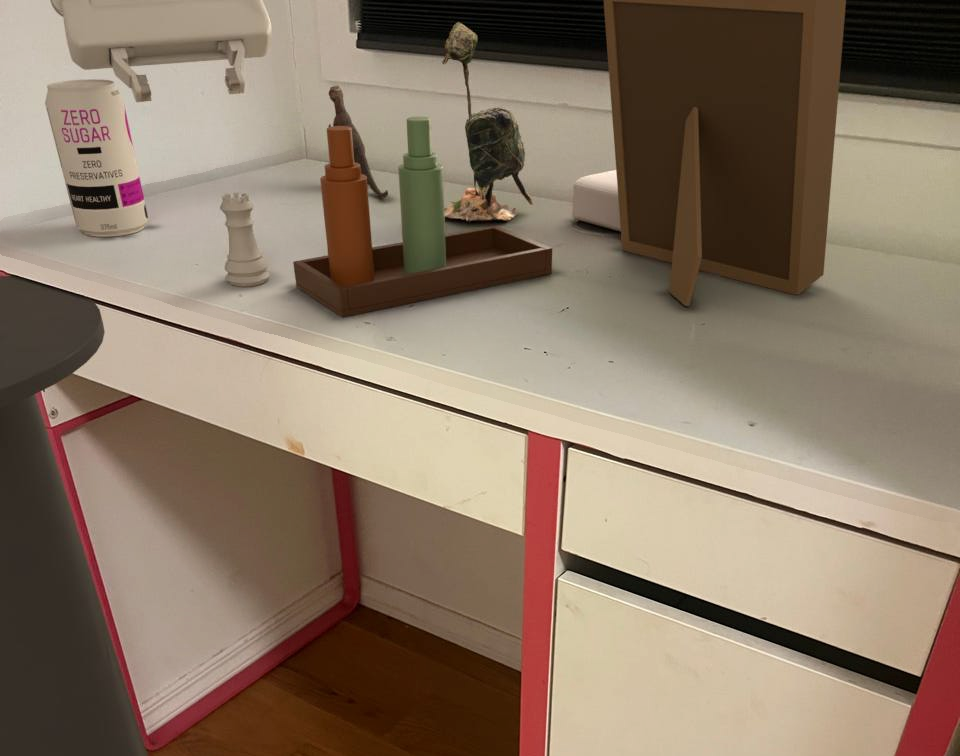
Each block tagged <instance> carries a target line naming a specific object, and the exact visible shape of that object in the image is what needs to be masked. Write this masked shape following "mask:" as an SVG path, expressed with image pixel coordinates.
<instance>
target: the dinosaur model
mask: <svg viewBox="0 0 960 756" xmlns="http://www.w3.org/2000/svg"><path fill="white" fill-rule="evenodd" d="M328 96H329V99H330V100H331V101H332V102H333V106H334V111H335V116H334V118H333V122H332V125H331V123H329V124H328V126H327V128H328V127H332V126H349V127H351V128H352V139H353V151H354V162H355V163H359V164H360V168H361V174H363V175H366V177H367V186H369V188H370V189H371V191H372V192H373V193H374V194H375V195H376V196H378V197H379V198H380V199H385V198H387V196H388V195H389V191H388V189H386V190H385V191H384V192H382V191H381V190H380V189H379V187H378V186H377V183H376V181H375V180H374V177H373V175H372V172H371V169H370V167H369V163H368V160H367V157H366V147H365V144H364V142H363V140H362V137H361V135H360V132H359V131H358V130H357V128H356V126H355V125H354V124H353V121H352V118H351V116H350V114H349V113H348V112H347V110H346V105H345V101H344V92H343V89H342V88H341V86H339V85H333V86H330V88H329V90H328Z"/></svg>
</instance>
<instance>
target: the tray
mask: <svg viewBox="0 0 960 756" xmlns="http://www.w3.org/2000/svg"><path fill="white" fill-rule="evenodd" d="M445 247H446V267H441V268H436V269H430V270H425V271H420V272H415V273H410V274H404V257H403V241H401V242H400V241H399V242H395V243H389V244H384V245H383V244H382V245H378V246H372V252H373V265H374V278H375V280H374V281H369V282H364V283H358V284H353V285H348V286H342V285H340V284H339V283H337V282H335V281H334V280H332V279H331V277H330V268H329V258H328V254H327V255H322V256H316V257H310V258H305V259H301V260H295V261H293V262H292V263H293V271H294V279H295V288H297V289H299V291H301V292H303V293H304V294H306V295H308V297H311V298H312V299H314V300H315V301H317V302H318V303H320V304H322V305H323V306H324V307H326V308H327V309H329V310H331V311H332V312H334V313H335V314H336V315H338V316H340V317H342V318H345V317H350V316H355V315H360V314H364V313H370V312H374V311H379V310H384V309H388V308H393V307H397V306H403V305H407V304H412V303H417V302H422V301H427V300H431V299H436V298H441V297H446V296H450V295H456V294H460V293H465V292H470V291H474V290H480V289H484V288H489V287H493V286H494V287H495V286H499V285H503V284H508V283H513V282H518V281H523V280H527V279H531V278H538V277H541V276H546V275H550V274H552V270H553V247H550V246H548V245H545V244H543V243H540V242H538V241H535V240H533V239H530V238H528V237H525V236H523V235H520V234H518V233H515V232H513V231H511V230H509V229H505V228H503V227H500V226H498V225H491V226H490V225H489V226H484V227H480V228H479V227H478V228H473V229H468V230H463V231H462V230H461V231H457V232H451V233H445Z"/></svg>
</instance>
